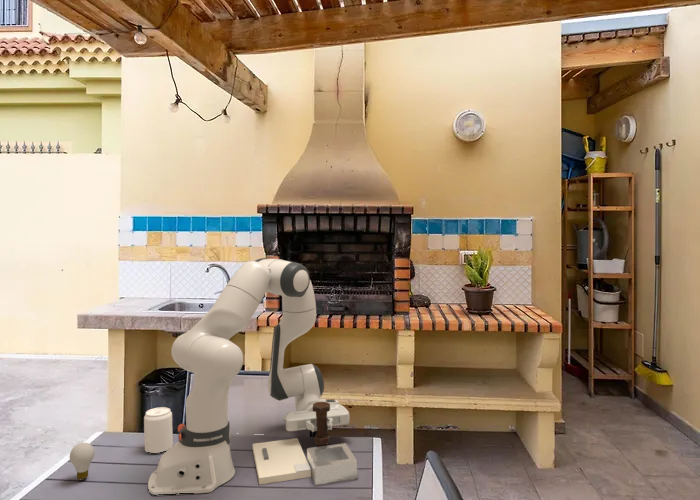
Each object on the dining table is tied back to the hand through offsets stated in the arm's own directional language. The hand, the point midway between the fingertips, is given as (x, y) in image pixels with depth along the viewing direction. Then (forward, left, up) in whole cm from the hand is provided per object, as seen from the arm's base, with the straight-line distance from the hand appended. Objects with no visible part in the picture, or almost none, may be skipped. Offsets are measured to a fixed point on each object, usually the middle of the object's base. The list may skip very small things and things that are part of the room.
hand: (322, 428), depth 144 cm
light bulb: (-66, +5, -8) cm, 67 cm away
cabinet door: (-13, -1, -8) cm, 15 cm away
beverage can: (-48, +19, -8) cm, 52 cm away
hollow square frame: (0, -11, -8) cm, 14 cm away
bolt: (0, +1, -8) cm, 8 cm away
